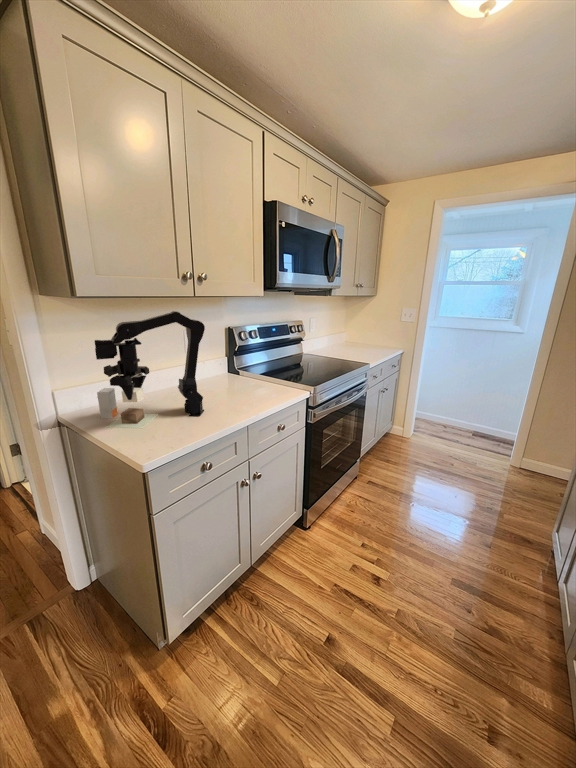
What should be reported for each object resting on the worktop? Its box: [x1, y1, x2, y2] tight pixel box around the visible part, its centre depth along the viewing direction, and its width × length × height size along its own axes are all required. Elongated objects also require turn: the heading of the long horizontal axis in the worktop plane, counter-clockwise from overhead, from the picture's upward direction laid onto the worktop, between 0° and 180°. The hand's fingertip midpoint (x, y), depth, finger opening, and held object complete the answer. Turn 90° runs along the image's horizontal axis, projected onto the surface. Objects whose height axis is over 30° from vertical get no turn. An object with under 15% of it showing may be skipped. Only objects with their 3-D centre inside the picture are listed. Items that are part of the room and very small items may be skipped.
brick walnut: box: [120, 407, 145, 424], centre depth 125 cm, size 6×6×4 cm
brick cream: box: [121, 387, 145, 403], centre depth 120 cm, size 6×6×4 cm
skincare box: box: [96, 387, 119, 420], centre depth 128 cm, size 6×4×12 cm
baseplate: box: [106, 413, 159, 429], centre depth 125 cm, size 14×14×1 cm
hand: (133, 397), depth 121 cm, fingers closed on brick cream, 5 cm apart
